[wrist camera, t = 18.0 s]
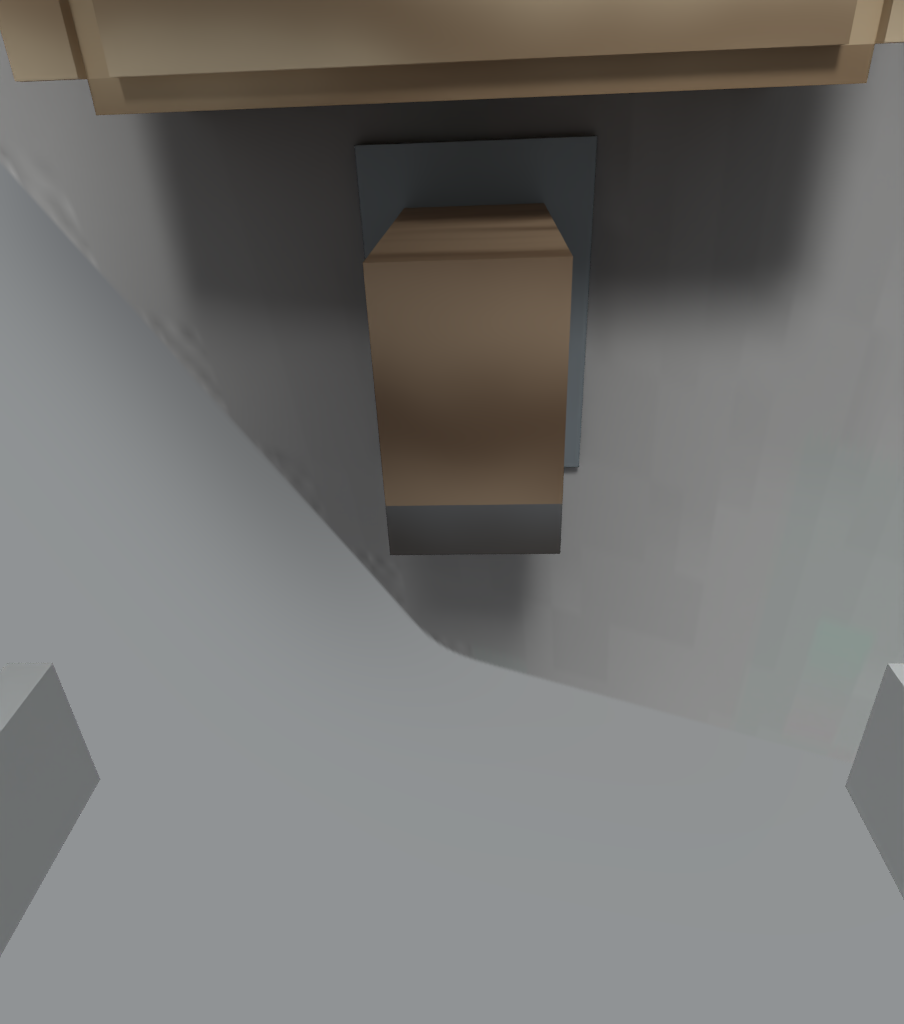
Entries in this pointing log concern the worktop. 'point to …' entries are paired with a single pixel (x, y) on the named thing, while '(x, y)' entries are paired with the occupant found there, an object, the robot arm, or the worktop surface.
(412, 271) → the block
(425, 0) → the wooden crate
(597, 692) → the worktop surface
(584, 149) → the mat
